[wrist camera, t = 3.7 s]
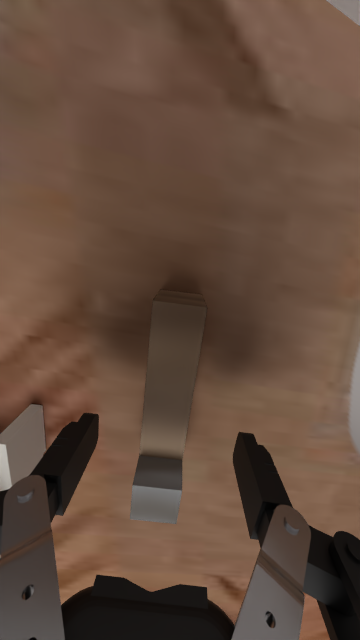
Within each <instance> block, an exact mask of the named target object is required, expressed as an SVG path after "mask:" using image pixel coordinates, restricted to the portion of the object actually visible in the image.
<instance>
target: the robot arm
mask: <svg viewBox="0 0 360 640" xmlns="http://www.w3.org/2000/svg"><path fill="white" fill-rule="evenodd" d="M98 424H99V416H98V414H92V413H84V414H83V415H82V416H81V418H80V419H79V421H78V422H71V423H69V424H68V425H67V426H65V427H64V428H63V429H62V430H61V432H60V433H59V435H58V436H57V438H56V439H55V440H54V442H53V443H52V445H51V446H50V447H49V449H48V450H47V451H46V453H45V454H44V456H43V457H42V458H41V460H40V461H39V463H38V464H37V465H36V467H35V468H34V470H33V471H32V472H31V474H30V475H29V476H27V477H25V478H23V479H21V480H19V481H18V482H16V483H15V484H14V485H13V486H12V487H11V488H10V489H7V490H4V491H0V555H1V558H0V640H299V635H300V628H301V622H302V615H303V608H304V594H303V592H305V593H306V594H308V595H310V596H312V597H313V598H315V599H317V602H318V605H319V608H320V611H321V614H322V617H323V619H324V622H325V625H326V628H327V631H328V634H329V637H330V640H360V540H359V539H358V538H356V537H355V536H353V535H352V534H350V533H347V532H344V531H338V532H336V533H335V535H334V537H332V536H329V535H327V534H325V533H323V532H321V531H319V530H317V529H315V528H313V527H311V526H309V525H308V524H307V522H306V520H305V519H304V517H303V516H302V515H301V514H300V513H299V512H298V511H297V510H295V509H294V508H293V507H292V504H291V502H290V500H289V497H288V495H287V493H286V490H285V488H284V486H283V483H282V481H281V479H280V476H279V474H278V473H277V469H276V467H275V466H274V462H273V460H272V458H271V455H270V453H269V452H268V451H267V450H266V449H265V447H264V446H263V445H258V444H257V442H256V439H255V437H254V435H253V434H251V433H243V432H239V433H238V436H237V440H236V444H235V448H234V452H233V465H234V469H235V474H236V478H237V483H238V487H239V491H240V496H241V500H242V504H243V509H244V513H245V518H246V522H247V526H248V531H249V535H250V539H257V540H259V543H260V547H261V549H260V552H259V555H258V558H257V561H256V564H255V567H254V570H253V573H252V576H251V579H250V582H249V585H248V588H247V590H246V593H245V596H244V599H243V602H242V605H241V608H240V611H239V614H238V617H237V619H236V622H235V625H234V624H233V623H232V621H231V620H230V619H229V617H228V616H227V615H226V614H225V612H224V611H222V610H221V609H220V608H219V607H218V606H217V605H216V604H214V603H213V602H212V601H210V600H208V599H207V587H199V586H190V585H182V584H179V585H175V586H172V587H168V588H165V589H161V590H158V591H154V592H149V591H147V590H145V589H143V588H141V587H140V586H138V585H136V584H134V583H132V582H130V581H129V580H127V579H125V578H121V577H112V576H103V575H96V579H95V582H94V586H91V587H88V588H86V589H83V590H81V591H79V592H78V593H76V594H75V595H73V596H72V597H70V598H69V599H68V600H67V601H65V602H64V603H63V604H62V605H61V602H60V594H59V585H58V577H57V569H56V560H55V552H54V543H53V535H52V530H51V522H52V520H53V518H54V516H55V515H62V516H63V515H64V512H65V510H66V508H67V506H68V504H69V502H70V500H71V498H72V496H73V494H74V491H75V489H76V487H77V485H78V483H79V481H80V479H81V477H82V475H83V472H84V470H85V468H86V466H87V464H88V462H89V460H90V458H91V456H92V454H93V451H94V449H95V447H96V444H97V440H98Z"/></svg>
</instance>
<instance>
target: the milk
mask: <svg viewBox="0 0 360 640" xmlns="http://www.w3.org/2000/svg"><path fill="white" fill-rule="evenodd" d="M326 1H328V2H329V3H330V4H332V5H333V6H334V7H335V8H337V9H338V10H339V11H341V12H342V13H343V14H345V15H346V16H347V17H349V18H350V19H351V20H352V21H354V22H355V23H356V24H358V25H359V26H360V0H326Z"/></svg>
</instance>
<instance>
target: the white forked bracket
mask: <svg viewBox="0 0 360 640" xmlns="http://www.w3.org/2000/svg"><path fill="white" fill-rule="evenodd" d="M45 451H46V443H45V430H44V418H43V405H34V404H31V405H30V406H29V407H27V408H26V409H25V410H24V411H23V412H22V413H21V414H20V415H19V416H18V417H17V418H16V419H15V420H14V421H13V422H12V423H11V424H10V425H9V426H8V427H7V428H6V429H5V430H4V431H3V432H2V433H1V434H0V491H4V490H7V489H10V488H11V487H12V486H13V485H14V484H15V483H16V482H18V481H19V480H21V479H23V478H25V477H27V476H29V475H30V474H31V472H32V471H33V470H34V468H35V467H36V465H37V464H38V463H39V461H40V460H41V458H42V457H43V454H44V452H45ZM0 558H1V555H0Z"/></svg>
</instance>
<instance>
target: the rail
mask: <svg viewBox="0 0 360 640" xmlns="http://www.w3.org/2000/svg"><path fill="white" fill-rule="evenodd" d="M206 313H207V305H206V303H205V301H204V299H203V296H202V295H201V294H193V293H185V292H177V291H169V290H161V289H160V291H159V292H158V294H157V295H156V297H155V298H154V300H153V304H152V316H151V327H150V339H149V350H148V362H147V373H146V384H145V396H144V407H143V419H142V430H141V442H140V453H139V459H138V464H137V468H136V473H135V477H134V482H133V487H132V500H131V513H130V519H134V520H144V521H153V522H163V523H172V524H176V522H177V517H178V511H179V505H180V499H181V494H182V459H183V453H184V447H185V441H186V435H187V429H188V423H189V416H190V410H191V404H192V398H193V392H194V386H195V380H196V374H197V368H198V362H199V356H200V350H201V344H202V338H203V331H204V325H205V319H206Z"/></svg>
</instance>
